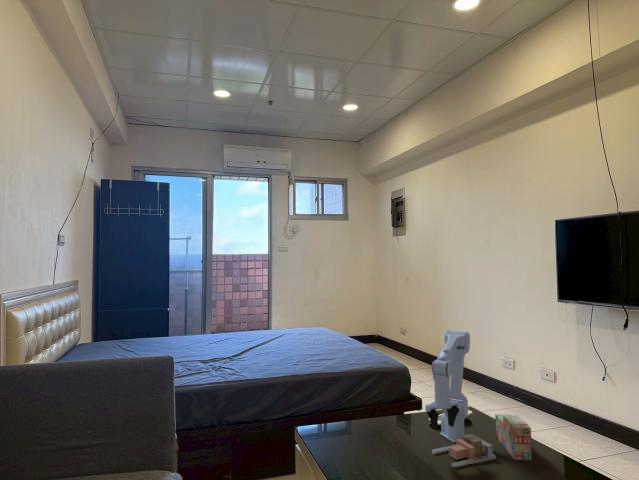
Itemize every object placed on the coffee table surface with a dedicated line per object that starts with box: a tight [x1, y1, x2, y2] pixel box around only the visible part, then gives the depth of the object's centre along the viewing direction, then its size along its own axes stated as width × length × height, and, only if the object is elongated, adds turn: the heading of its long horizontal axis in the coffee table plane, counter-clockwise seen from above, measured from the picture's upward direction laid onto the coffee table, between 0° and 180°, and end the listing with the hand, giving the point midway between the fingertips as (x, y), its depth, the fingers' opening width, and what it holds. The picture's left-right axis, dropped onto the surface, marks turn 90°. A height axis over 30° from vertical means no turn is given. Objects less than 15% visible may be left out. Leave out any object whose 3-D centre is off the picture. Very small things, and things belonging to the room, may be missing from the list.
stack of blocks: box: [494, 413, 533, 461], centre depth 162 cm, size 21×6×12 cm, turn 174°
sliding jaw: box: [448, 439, 475, 461], centre depth 155 cm, size 8×7×4 cm
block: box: [463, 433, 483, 457], centre depth 157 cm, size 6×4×6 cm, turn 21°
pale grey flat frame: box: [431, 433, 497, 468], centre depth 155 cm, size 13×19×4 cm
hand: (443, 427), depth 157 cm, fingers open, 7 cm apart
